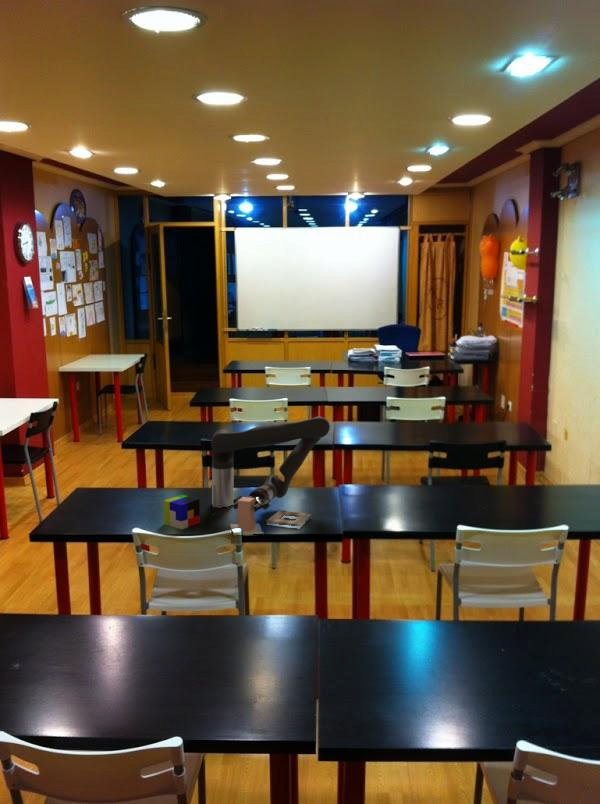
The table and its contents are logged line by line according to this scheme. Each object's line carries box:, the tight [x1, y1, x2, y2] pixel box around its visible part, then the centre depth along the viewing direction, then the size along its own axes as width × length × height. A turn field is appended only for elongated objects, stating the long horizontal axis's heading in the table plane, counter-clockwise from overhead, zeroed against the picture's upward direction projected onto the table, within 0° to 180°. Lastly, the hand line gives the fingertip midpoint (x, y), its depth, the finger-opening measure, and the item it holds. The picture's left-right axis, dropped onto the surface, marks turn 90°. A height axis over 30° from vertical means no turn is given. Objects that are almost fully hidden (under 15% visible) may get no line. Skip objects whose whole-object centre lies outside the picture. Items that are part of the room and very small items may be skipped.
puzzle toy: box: [163, 494, 201, 530], centre depth 286 cm, size 10×10×10 cm
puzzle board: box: [266, 509, 312, 526], centre depth 289 cm, size 14×14×2 cm
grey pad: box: [229, 522, 264, 537], centre depth 280 cm, size 12×12×1 cm
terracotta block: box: [237, 496, 256, 531], centre depth 279 cm, size 5×5×12 cm
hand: (244, 508), depth 276 cm, fingers open, 8 cm apart
